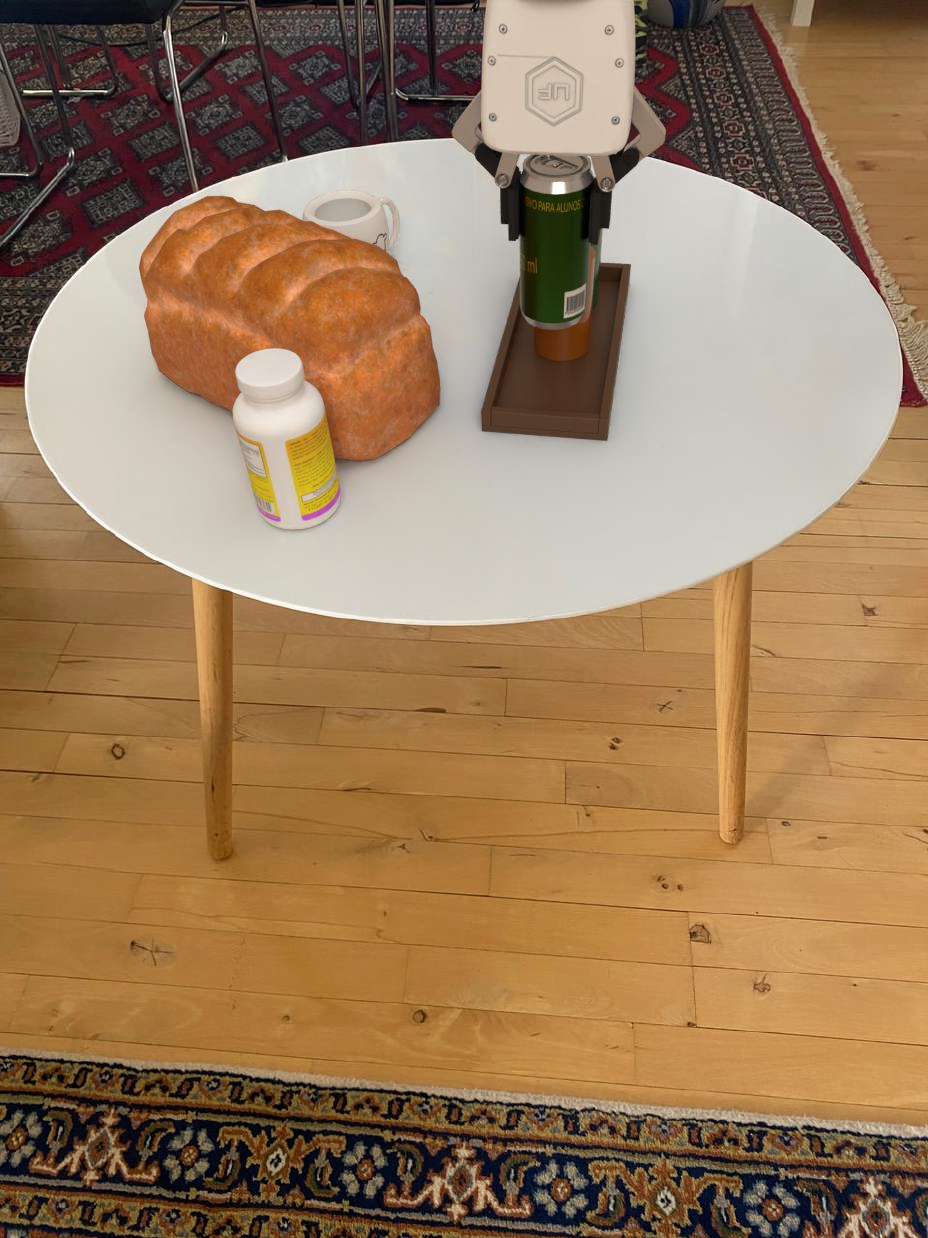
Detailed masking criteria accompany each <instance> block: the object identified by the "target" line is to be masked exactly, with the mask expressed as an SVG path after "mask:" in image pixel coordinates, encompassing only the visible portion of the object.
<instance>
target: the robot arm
mask: <svg viewBox="0 0 928 1238" xmlns="http://www.w3.org/2000/svg"><path fill="white" fill-rule="evenodd" d="M635 16H636V15H635V1H634V0H486V4H485V12H484V23H483V24H484V25H483V35H482V36H483V37H482V55H481V89H480V90H479V92H478V93H477V94H476V96H475V97H474V98H473V99H472V100H471V102H470V103H469V104H468V106H467V107H466V108H465V110H464V111H463V112H462V113H461V115H460V116H459V117H458V119H456V121H455V123H454V125H453V127H452V130H451V136H452V138H453V139H454V140H455V141H457V143H458V144H459V145H461V146H462V147H463V148H464V149H465V150H466V151H468V152H469V153H471V154H472V155H473V156H474V158H475V160H476V161H477V163H478V164H480V165H481V166H482V167H483V168H484V169H485V171H486V172H488V173H489V175H490V176H491V177H492V178H493V179H494V183H495V186H496V187H498V188H499V198H500V199H499V205H500V206H499V210H500V211H499V212H500V214H499V215H500V225H507V232H508V233H507V234H508V235H507V236H508V237H507V239H508V241H509V242H516V241H517V240H520V184H519V177H520V175H521V173H522V171H521V170H520V167H519V166H518V162H519V159H520V156H521V155H531V154H532V155H562V156H587V157H589V158H590V161H591V165H592V167H593V171H594V175H595V177H594V184H593V186H592V190H591V196H590V216H589V236H588V243H591V245H598V241H599V236H600V230H601V229H603V230H604V229H605V230H609V229H610V224H611V216H612V200H613V190H614V189H615V187H616V185H617V184H618V183H619V182H620V181H621V180H622V179H623V178H625V176H627V175H628V174H629V173H630V172H631V171H632V170H634V168H635V167H637V166H638V165H639V163H640V162H641V161H643V160H644V159H645V158H647V157H648V156H649V155H651V154H652V153H653V152H655V151H656V150H658V148H660V147H661V146H662V145H663V144H664V143H665V141H666V134H667V128H666V127H665V126H664V124H663V123H662V122H661V120H660V118H659V117H658V116H657V114H656V113H655V112H654V110H653V109H652V108H651V106H650V105H649V103H648V102H647V100H646V99H645V98H644V96H643V95H642V94H641V93H640V91H639V89H638V88H637V86H636V85H635V82H636V81H635V78H636V77H635V75H636V17H635ZM480 124H481V125H480ZM479 125H480V126H481V128H480V127H479ZM632 125H633V126H634V127H635V129H636V130H637V131H638V134H637V136H635V138H634V139H632V140H631V141H628V139H629V136H630V132H631V126H632Z"/></svg>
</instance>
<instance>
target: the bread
mask: <svg viewBox="0 0 928 1238" xmlns="http://www.w3.org/2000/svg"><path fill="white" fill-rule="evenodd" d="M139 259H140V260H139V264H138V271H139V276H140V280H141V284H142V289H143V291H144V294H145V297H146V300H147V301H146V307H145V311H144V314H143V318H144V322H145V326H146V329H147V335H148V340H149V346H150V352H151V355H152V357H153V360H154V362H155V364H156V367H157V370H158V372H159V373H161V374H162V375H164V376H165V377H167V378H168V379H170V380H171V381H172V382H173V383H174V384H176V385H177V386H178V387H180V388H182V389H183V390H185V391H187V392H189V393H192V394H197V395H199V396H201V397H202V398H203V399H204V400H205V401H206V400H207V402H208V403H210V404H213V405H216V406H219V407H222V408H225V409H226V410H228V411H230V413H232V414H233V406H234V403H235V401H236V399H237V397H238V396H239V394H240V393H241V391H240V390H239V388H238V383H237V378H236V373H235V371H236V366H237V365H238V363H239V362H240V361H241V360H242V359H243V358H244V357H246V356H247V355H249V354H251V353H254V352H256V351H260V350H264V349H273V348H278V349H285V350H289V351H291V352H294V353H295V354H297V355H298V356H299V358H300V359H301V362H302V365H303V370H304V375H305V376H304V380H305V381H307V382H309V383H310V384H312V385H313V386H314V387H315V388H316V389H317V390H318V391H319V393H320V394H321V396H322V399H323V403H324V407H325V412H326V417H327V422H328V427H329V433H330V438H331V443H332V448H333V453H334V458H337V459H342V460H347V461H354V462H365V461H370V460H374V459H378V458H380V457H382V456H383V455H384V454H386V453H388V452H389V451H391V450H392V449H395V448H396V447H397V446H398V445H401V444H402V443H404V442H405V441H406V440H408V439H409V438H411V436H412V435H413V434H414V433H415V432H416V431H417V429H419V427H420V426H421V425H422V424H423V423H424V422H425V421H427V420H428V418H429V417H430V416H431V415H432V414H433V413H434V411H436V409H437V408H438V407H439V406H440V402H441V401H440V400H441V378H440V371H439V366H438V359H437V356H436V354H435V350H434V346H433V337H432V331H431V325H430V324H429V323H428V321H427V320H426V319H425V317H424V316H423V315H422V314H421V302H420V301H421V299H420V296H419V293H418V291H417V290H418V289H417V288H416V287H415V286H414V285H413V284H412V283H413V282H411V280H410V279H409V278H408V277H406V276H404V275H403V274H402V271H401V268H400V266H399V261H398V260H397V258H395V257H393V256H392V255H391V254H390V253H389V254H388V253H387V252H386V251H384V250H383V249H382V248H380V247H379V246H376V245H373V244H370V243H367V242H364V241H361V240H358V239H352V238H350V237H348V236H346V235H344V234H341V233H339V232H337V231H335V230H332V229H328V228H325V227H322V226H320V225H318V224H316V223H314V222H313V221H302V219H300V218H299V217H296V216H294V215H293V214H291V213H289V212H287V211H285V210H282V209H272V210H264V209H263V208H261V207H259V206H257V205H255V204H251V203H247V202H243V201H242V202H241V201H237V199H235V198H234V197H233V196H227V195H207V196H204V197H202V198H200V199H198V200H196V201H194V202H192V203H189V204H188V205H186V206H184V207H181V208H179V209H177V210H175V211H174V212H173V213H172V214H171V215H170V216H169V217H168V218H167V219H166V220H165V221H164V223H163V224H162V225H161V226H160V228H159V229H158V231H156V233H155V234H154V236H153V237H152V239H151V240H150V241H149V242H148V244H147V245H146V247H145V249H144V250H143V251H142V253H141V256H140V258H139Z"/></svg>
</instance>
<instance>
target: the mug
mask: <svg viewBox="0 0 928 1238" xmlns="http://www.w3.org/2000/svg"><path fill="white" fill-rule="evenodd" d="M384 205H386V206H388V209H389V210H390V214H391V217H392V230H391V231H392V232H391V236H390V230H389V224H388V218H387V215H386V211H385V208H384ZM400 218H401V217H400V212H399V209H398V207H397V205H396V203H395V202H394V200H393V199H391V198H390V197H388V196H384V197H380V198H378V197H376V195H374V194H371V193H369V192H365V191H360V190H352V189H351V190H337V191H332V192H331V191H330V192H328V193H324V194H321V195H319V196H317V197H315V198H312V200H310V201H309V202H308V203H307V204H306V205H305V207H304V208H303V212H302V216H301V220H302V221H313V222H314V223H316V224H318V225H320V226H322V227H325V228H328V229H332V230H335V231H337V232H339V233H341V234H344V235H346V236H348V237H350V238H352V239H358V240H361V241H364V242H367V243H370V244H373V245H376V246H379V247H380V248H382V249H383V250H384V251H386V252H387V253H388V254H389V255H390V251H391V250H392V249H393V248H394V247H395V245H396V244H397V242H398V239H399V235H400V230H401V229H400V228H401V219H400Z"/></svg>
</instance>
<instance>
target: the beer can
mask: <svg viewBox="0 0 928 1238" xmlns="http://www.w3.org/2000/svg"><path fill="white" fill-rule="evenodd" d="M519 184H520V235H519V277H520V308H521V312H522V314H523V316H524V318H525V319H526V320H527V322H528V323H530V324H531V325H533V326H535V327H538V328H541V329H548V330H557V329H564V328H568V327H571V326H573V325H575V324H577V323H578V322H579V321H580V320H581V319H582V317H583V315H584V313H585V311H586V308H587V301H588V281H589V262H590V243H588V236H589V216H590V196H591V190H592V186H593V184H594V173H593V171H592V160H591V157H590V156H562V155H532V154H528V156H526V157H525V158H524V160H523V162H522V171H521V175H520V177H519Z"/></svg>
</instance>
